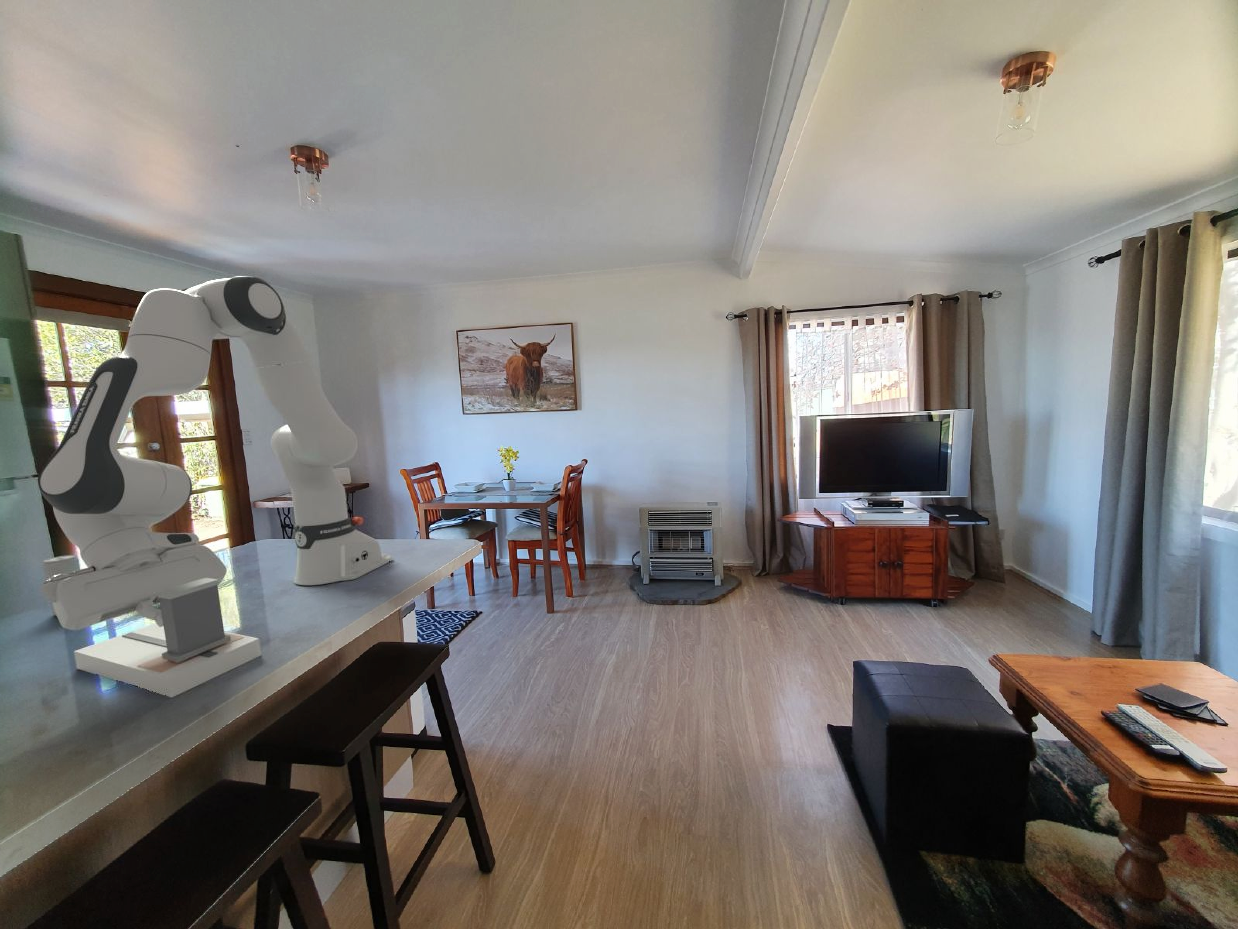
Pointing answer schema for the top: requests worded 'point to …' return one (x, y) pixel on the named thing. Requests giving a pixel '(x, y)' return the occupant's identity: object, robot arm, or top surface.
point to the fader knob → (191, 619)
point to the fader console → (162, 660)
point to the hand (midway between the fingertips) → (173, 621)
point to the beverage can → (60, 568)
